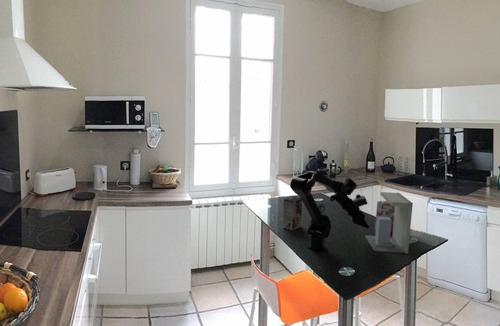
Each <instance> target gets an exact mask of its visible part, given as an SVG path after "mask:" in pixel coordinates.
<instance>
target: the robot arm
mask: <svg viewBox="0 0 500 326" xmlns="http://www.w3.org/2000/svg"><path fill="white" fill-rule="evenodd" d="M316 183H317V184H319V185H321V186H323V187H324V188H325V189H326V190H327V191H328V192H329V193H333V194H332V195H330V199H329V200H330V202H334V201H335V202H337V204H338V205H339V206H340V208H341V209H342V210H343V211H345V212H346V214H347V215H348V216H349V217H350V220H351V222H353V224H354V225H358V226H360V227H363V228H365V229H368V230H369V228H370V226H369V224H368V223H367V221H366V219H365V218H366V214H365V213H364V212H363V211H362V210H361V207H363V206H365V205H368V201H367V199H366V197H365V195H360V194H359V193H358V194H356V195H355V198H354V199H352V198H350V197H349V196H351V195H352V194H353V192H354V191H355V189H356V188H357V187H358V185H357V183H356V181H354V180H352V178H350V177H347V178H345V180H344V181H338V180H333V179H331V178H329V177H327V176H325V175H323V174H321V173H319V172H318V171H314V170H308V171H306V172H305V173H302V174H299V175H297V176H295V177H293V178H292V179H291V180H290V183H289V187H290V189H291V190H292V191H293V193H294V194H296V195H297V196H298V197H299V198H301V199H302V204H303V205H304V207H305V208H306V211H307V212H308V214H309V216H310V218H311V220H310V225H309V227H308V229H307V234H308V235H311V236H310V245H309V246H307V248H309V249H310V250H312V251H315V252H318V253H319V252H323V251H325V250H327V249H328V247H326V239H327V238H329V237H330V233H331V230H332V223H331V222H332V221H331V220H330V217H329V216H328V215H326V214H323V213H322V212H321V210H320V208H319V206H318V204H317V202H316V200H315V199H314V197H313V195H312V190H313V187H314V186H315V185H316Z"/></svg>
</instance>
